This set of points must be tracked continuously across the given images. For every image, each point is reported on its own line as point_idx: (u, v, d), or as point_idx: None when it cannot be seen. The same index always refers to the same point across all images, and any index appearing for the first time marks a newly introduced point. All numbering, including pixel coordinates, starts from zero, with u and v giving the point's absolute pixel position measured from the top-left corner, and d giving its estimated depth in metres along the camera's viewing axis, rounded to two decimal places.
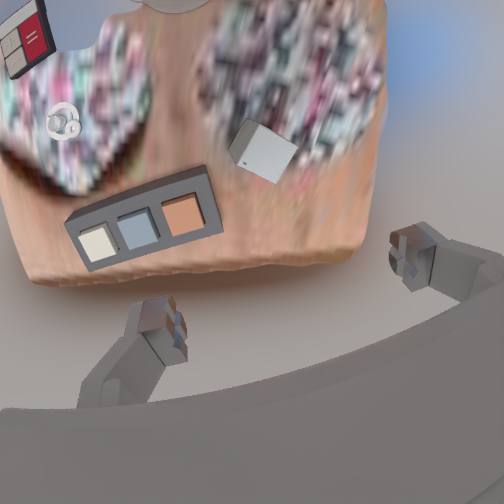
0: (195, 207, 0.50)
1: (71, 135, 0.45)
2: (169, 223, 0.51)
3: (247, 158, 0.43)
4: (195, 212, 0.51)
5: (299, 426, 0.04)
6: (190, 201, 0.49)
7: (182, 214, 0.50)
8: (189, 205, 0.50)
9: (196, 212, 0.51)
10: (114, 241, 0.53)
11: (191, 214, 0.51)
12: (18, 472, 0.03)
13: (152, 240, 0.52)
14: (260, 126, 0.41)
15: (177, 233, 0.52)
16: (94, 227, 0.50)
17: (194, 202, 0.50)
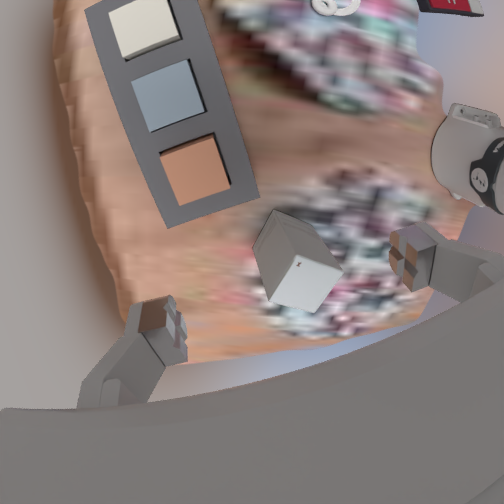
0: (213, 190, 0.32)
1: (317, 1, 0.26)
2: (183, 151, 0.29)
3: (305, 266, 0.33)
4: (205, 190, 0.32)
5: (299, 427, 0.04)
6: (224, 183, 0.31)
7: (200, 171, 0.30)
8: (216, 181, 0.31)
9: (204, 192, 0.32)
10: (142, 52, 0.24)
11: (200, 185, 0.31)
12: (18, 472, 0.03)
13: (150, 122, 0.27)
14: (341, 273, 0.35)
15: (165, 164, 0.29)
16: (172, 17, 0.22)
17: (221, 188, 0.32)
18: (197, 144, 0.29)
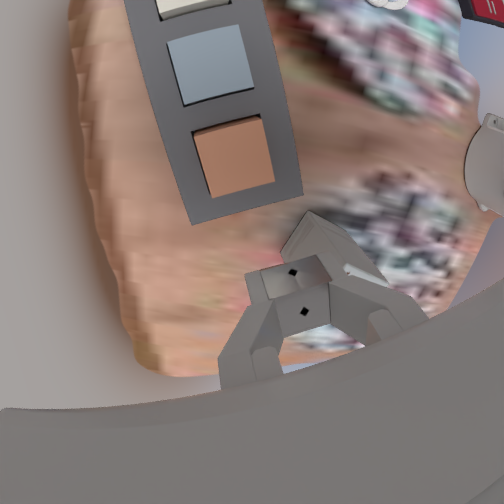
0: (255, 182, 0.27)
1: None
2: (224, 131, 0.24)
3: None
4: (245, 181, 0.26)
5: (299, 426, 0.04)
6: (268, 174, 0.26)
7: (241, 158, 0.25)
8: (260, 172, 0.26)
9: (244, 183, 0.26)
10: (182, 12, 0.19)
11: (240, 175, 0.26)
12: (18, 473, 0.03)
13: (186, 93, 0.21)
14: (387, 285, 0.30)
15: (200, 146, 0.24)
16: None
17: (265, 181, 0.27)
18: (242, 125, 0.24)
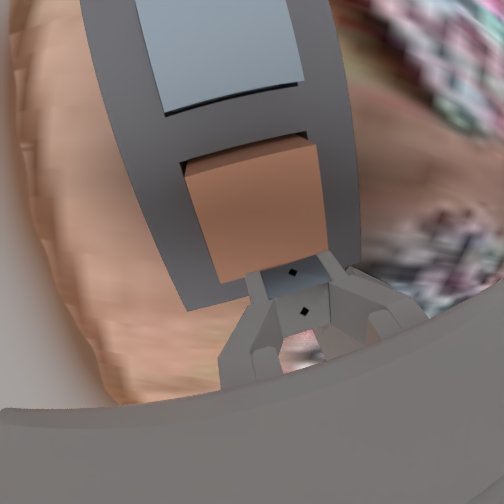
0: (295, 257, 0.15)
1: None
2: (245, 166, 0.12)
3: None
4: (280, 256, 0.15)
5: (299, 426, 0.04)
6: (319, 243, 0.15)
7: (275, 217, 0.14)
8: (305, 240, 0.15)
9: (277, 259, 0.15)
10: None
11: (272, 245, 0.15)
12: (18, 472, 0.03)
13: (169, 89, 0.10)
14: None
15: (198, 195, 0.13)
16: None
17: (312, 254, 0.15)
18: (279, 155, 0.12)
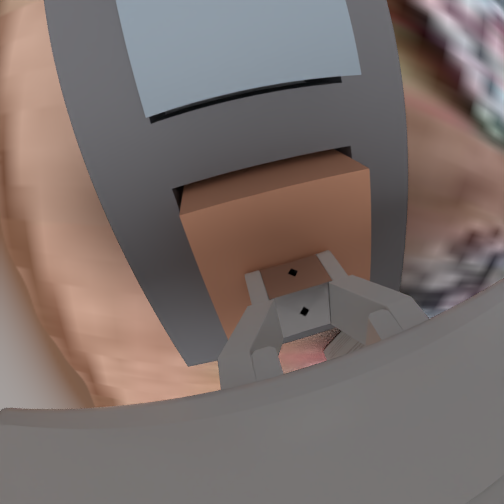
0: None
1: None
2: (269, 200, 0.09)
3: None
4: None
5: (299, 426, 0.04)
6: None
7: None
8: None
9: None
10: None
11: None
12: (18, 472, 0.03)
13: (153, 80, 0.06)
14: None
15: (200, 241, 0.09)
16: None
17: None
18: (319, 182, 0.09)
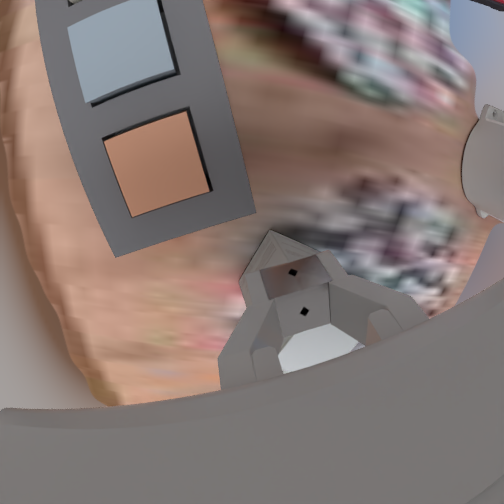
0: (183, 194, 0.20)
1: None
2: (140, 131, 0.17)
3: None
4: (171, 194, 0.20)
5: (299, 426, 0.04)
6: (200, 183, 0.20)
7: (163, 164, 0.19)
8: (188, 180, 0.20)
9: (169, 196, 0.20)
10: None
11: (164, 185, 0.20)
12: (18, 473, 0.03)
13: (88, 87, 0.14)
14: None
15: (112, 152, 0.18)
16: None
17: (196, 192, 0.20)
18: (161, 121, 0.17)
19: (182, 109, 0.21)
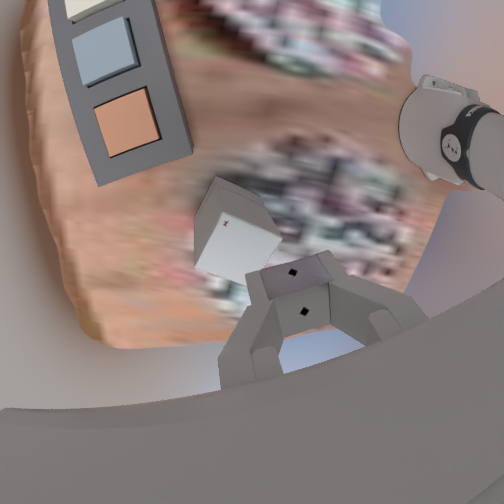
0: (141, 141, 0.29)
1: None
2: (115, 102, 0.26)
3: (234, 227, 0.29)
4: (134, 141, 0.29)
5: (299, 426, 0.04)
6: (152, 133, 0.28)
7: (129, 122, 0.27)
8: (145, 131, 0.28)
9: (133, 142, 0.29)
10: (88, 14, 0.20)
11: (130, 135, 0.28)
12: (18, 472, 0.03)
13: (84, 76, 0.22)
14: (280, 239, 0.31)
15: (99, 115, 0.26)
16: None
17: (150, 139, 0.29)
18: (128, 95, 0.26)
19: (148, 89, 0.30)
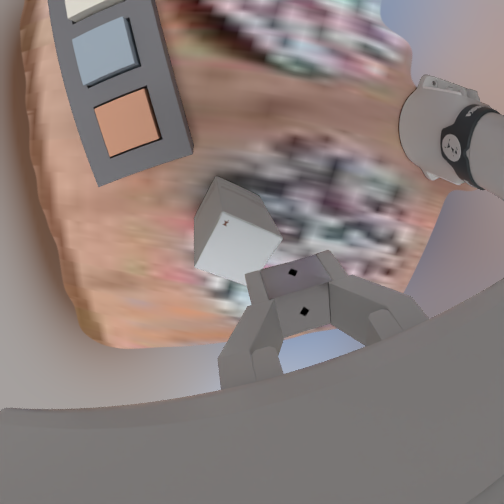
0: (142, 141, 0.29)
1: None
2: (116, 102, 0.26)
3: (234, 226, 0.29)
4: (134, 141, 0.29)
5: (299, 426, 0.04)
6: (152, 133, 0.29)
7: (129, 122, 0.27)
8: (145, 131, 0.28)
9: (133, 142, 0.29)
10: (88, 14, 0.20)
11: (130, 135, 0.28)
12: (18, 472, 0.03)
13: (84, 76, 0.22)
14: (280, 239, 0.31)
15: (99, 115, 0.26)
16: None
17: (150, 139, 0.29)
18: (128, 95, 0.26)
19: (148, 88, 0.30)
